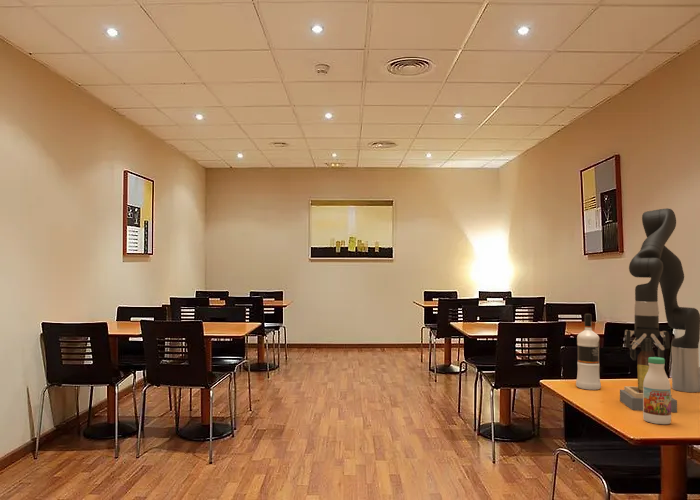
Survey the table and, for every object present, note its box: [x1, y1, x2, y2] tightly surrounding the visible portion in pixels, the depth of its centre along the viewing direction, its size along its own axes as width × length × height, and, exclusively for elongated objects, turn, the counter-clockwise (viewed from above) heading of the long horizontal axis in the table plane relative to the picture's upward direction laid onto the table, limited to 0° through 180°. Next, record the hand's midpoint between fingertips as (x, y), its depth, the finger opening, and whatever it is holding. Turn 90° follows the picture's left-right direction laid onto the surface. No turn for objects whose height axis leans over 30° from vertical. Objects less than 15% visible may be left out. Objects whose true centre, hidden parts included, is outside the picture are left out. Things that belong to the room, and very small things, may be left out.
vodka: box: [575, 313, 602, 391], centre depth 223 cm, size 9×9×30 cm
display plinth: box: [619, 385, 678, 413], centre depth 193 cm, size 14×14×6 cm
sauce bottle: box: [636, 338, 656, 393], centre depth 193 cm, size 6×6×20 cm
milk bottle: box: [642, 356, 672, 425], centre depth 173 cm, size 8×8×20 cm
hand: (646, 360), depth 193 cm, fingers open, 8 cm apart
